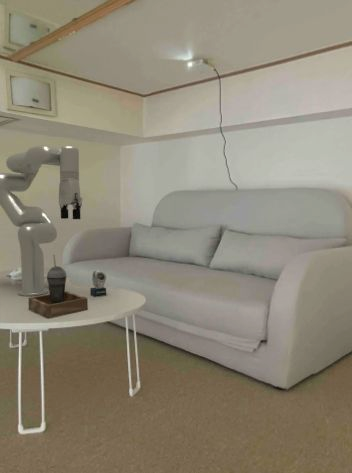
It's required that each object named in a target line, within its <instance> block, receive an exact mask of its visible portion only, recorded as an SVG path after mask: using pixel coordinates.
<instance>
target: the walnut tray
mask: <svg viewBox="0 0 352 473" xmlns="http://www.w3.org/2000/svg"><path fill="white" fill-rule="evenodd" d="M88 299H89V298H88V297H85V296H82V295H80V294H76V293H73V292H71V291H67V290H65V294H64V302H61V303H56V304H51V302H50V293H49V294H42V295H36V296H32V297H31V296H30V297H28V310H30V311H31V312H33V313H36V314H37V315H40V316H42V317H44V318H46V319H52V318H58V317H62V316H65V315H71V314H74V313H75V314H76V313H78V312H85V311H88V308H89V306H88V303H89V302H88V301H89V300H88Z"/></svg>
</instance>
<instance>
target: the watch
mask: <svg viewBox="0 0 352 473" xmlns="http://www.w3.org/2000/svg"><path fill="white" fill-rule="evenodd" d="M91 280H92V285H93V287H91V288H90V290H89V291H90V296H92V297H94V298H96V297H97V296H98V297H102V296H103V295H104V296H107V288H106V287H104V286H105V284H106V280H107V275H106V273H105V272H103V271H102V270H99V269H98V270H93V273H92V278H91Z"/></svg>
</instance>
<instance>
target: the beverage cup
mask: <svg viewBox="0 0 352 473" xmlns="http://www.w3.org/2000/svg"><path fill="white" fill-rule="evenodd" d="M52 256H53V264H54V266H52V267H51V268H50V269H49V270H48V272H47V275H46V279H47V284H48V292H49V294H50V302H51V304H56V303H61V302H64V294H65V291H66V283H67V282H66V281H67V273H66V271H65V269H64V268H63V267H61V266H57V264H56V262H57V261H56V255H55V254H53V255H52Z"/></svg>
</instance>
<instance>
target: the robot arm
mask: <svg viewBox="0 0 352 473" xmlns="http://www.w3.org/2000/svg"><path fill="white" fill-rule="evenodd" d="M79 158H80V156H79V148H78V147H77V146H73V145H63V146H61V147H57V146H51V145H37V146H36V145H35V146H32V147H29V148H28V149H27V151H23V152H18V153H14V154H11V155H10V156H8V157H7V158H6V161H5V164H6V167H7V168H8V170H9V171H11V172H13V173H11V172H0V207H1V208H2V210H3V211H4V213H5V214H6V216H7V217H8V218H9V220H10V222H11V223H12V224H13V225H14V226H15V227H18V230H17V239H18V242H19V247H20V265H21V289H20V290H18V291H17V292H18V295H19V296H23V297H24V296H25V297H31V296H32V297H36V296H43V295H46V294H47V293H48V292H49V288H47V287H45V264H44V260H45V259H44V257H45V256H44V251H43V249H42V248H41V246H40V245H41V244H42V245H43V244H44V245H45V244H50V243H53V242H54V241H55V240H56V239H57V236H58V232H57V229H56V226H55V225H54V222H52V220H51V219H50V218H49V216H48V215H47V213H46V212H45V211H44V210H43V209H42V208H41V207H38V206H27V205H25V204H24V203H23V202H22V200H21V199H20V198H19V197H18V196H17V195H15V194H14V193H12V192H16V193H17V192H19V193H23V192H26V191H28V189H29V188H30V187H31V185H32V183H33V181H34V180H35V177H37V175H38V172H39V170H40V169H41V167H42V165H47V166H55V167H56V166H57V167H59V180H60V181H59V185H58V205H59V209H60V219H62V220H63V219H65V220H67V219H69V205H71V206H72V219H73V220H81V209H82V203H83V197H82V196H81V188H80V164H79V163H80V161H79Z"/></svg>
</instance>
